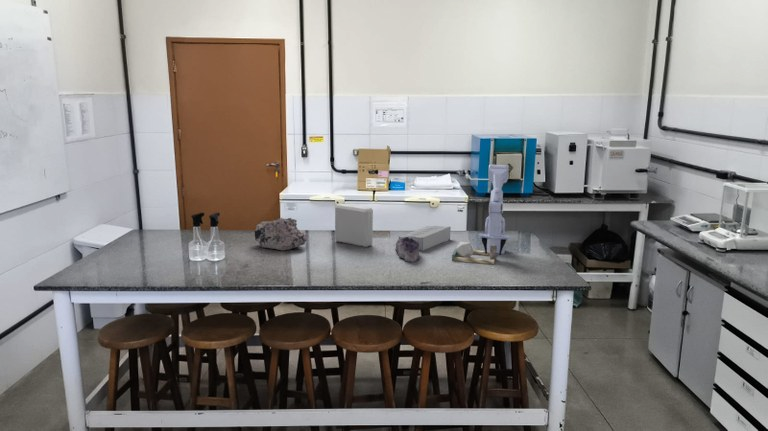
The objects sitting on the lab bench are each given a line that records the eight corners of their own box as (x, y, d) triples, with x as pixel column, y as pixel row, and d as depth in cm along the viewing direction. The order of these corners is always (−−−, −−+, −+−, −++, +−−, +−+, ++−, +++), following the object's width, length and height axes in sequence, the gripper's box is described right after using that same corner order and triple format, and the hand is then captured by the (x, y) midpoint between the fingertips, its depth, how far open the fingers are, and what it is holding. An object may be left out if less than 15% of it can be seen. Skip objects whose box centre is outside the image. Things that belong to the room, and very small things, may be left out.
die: (462, 263, 266) (475, 247, 266) (449, 251, 270) (461, 236, 269) (466, 264, 274) (479, 249, 273) (453, 253, 277) (465, 238, 276)
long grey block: (427, 235, 315) (427, 222, 313) (449, 239, 307) (450, 226, 306) (398, 247, 291) (398, 233, 289) (422, 252, 283) (423, 237, 281)
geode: (426, 262, 265) (424, 242, 262) (403, 266, 263) (400, 246, 260) (416, 249, 284) (414, 230, 281) (394, 253, 282) (392, 234, 279)
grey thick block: (375, 244, 293) (375, 207, 289) (366, 248, 286) (366, 210, 282) (342, 238, 304) (342, 202, 300) (333, 241, 297) (333, 205, 293)
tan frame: (496, 254, 278) (497, 241, 276) (494, 264, 262) (495, 250, 261) (456, 251, 283) (456, 238, 281) (451, 260, 267) (452, 246, 266)
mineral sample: (310, 217, 293) (299, 210, 279) (310, 252, 288) (300, 247, 274) (262, 223, 298) (250, 216, 284) (262, 257, 293) (249, 252, 279)
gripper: (478, 227, 265) (477, 254, 268) (510, 229, 262) (508, 257, 264) (479, 223, 272) (478, 250, 275) (510, 226, 268) (508, 253, 271)
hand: (493, 253), depth 270 cm, fingers open, 6 cm apart
